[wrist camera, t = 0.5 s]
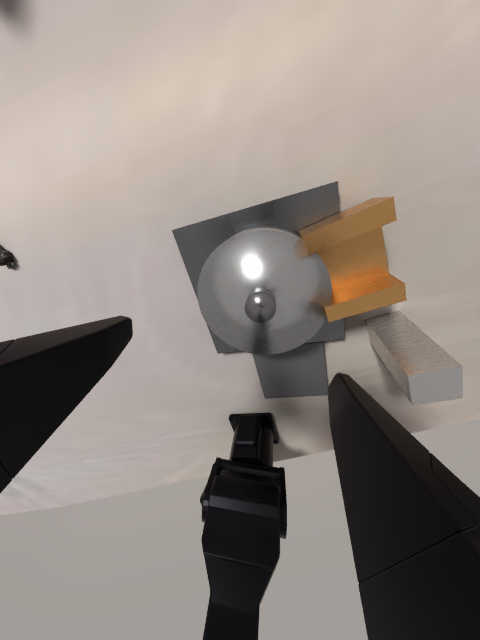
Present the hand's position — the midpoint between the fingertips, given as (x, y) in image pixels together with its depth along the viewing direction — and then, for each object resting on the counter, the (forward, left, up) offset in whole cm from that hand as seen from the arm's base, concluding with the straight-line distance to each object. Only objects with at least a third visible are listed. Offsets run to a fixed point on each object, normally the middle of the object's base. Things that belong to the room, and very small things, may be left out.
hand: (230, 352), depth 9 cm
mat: (-13, -1, -13) cm, 19 cm away
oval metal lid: (-1, -3, -12) cm, 12 cm away
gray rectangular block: (-9, -11, -13) cm, 20 cm away
